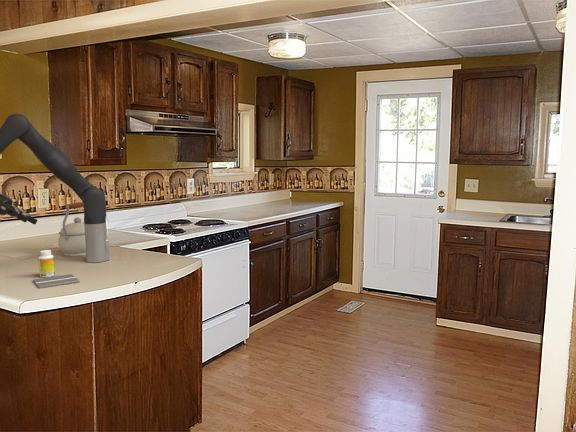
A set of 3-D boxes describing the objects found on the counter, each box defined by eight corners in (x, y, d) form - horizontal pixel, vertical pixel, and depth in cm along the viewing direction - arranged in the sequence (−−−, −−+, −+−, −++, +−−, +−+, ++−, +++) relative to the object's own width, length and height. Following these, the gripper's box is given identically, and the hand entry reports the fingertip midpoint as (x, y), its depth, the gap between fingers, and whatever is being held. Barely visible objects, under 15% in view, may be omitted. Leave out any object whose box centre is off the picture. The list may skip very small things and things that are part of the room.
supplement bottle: (57, 275, 204) (55, 250, 203) (43, 278, 200) (41, 252, 199) (51, 273, 208) (49, 249, 207) (37, 276, 204) (35, 251, 203)
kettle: (83, 258, 238) (80, 205, 235) (48, 257, 242) (44, 204, 239) (112, 248, 263) (109, 199, 259) (80, 247, 266) (76, 199, 263)
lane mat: (71, 275, 205) (71, 273, 205) (79, 282, 193) (79, 280, 193) (32, 280, 197) (32, 279, 197) (39, 288, 185) (39, 286, 185)
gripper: (-8, 190, 200) (29, 211, 200) (10, 196, 214) (44, 215, 214) (-19, 207, 199) (18, 228, 199) (0, 211, 213) (34, 231, 213)
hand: (31, 221), depth 206 cm, fingers open, 8 cm apart
